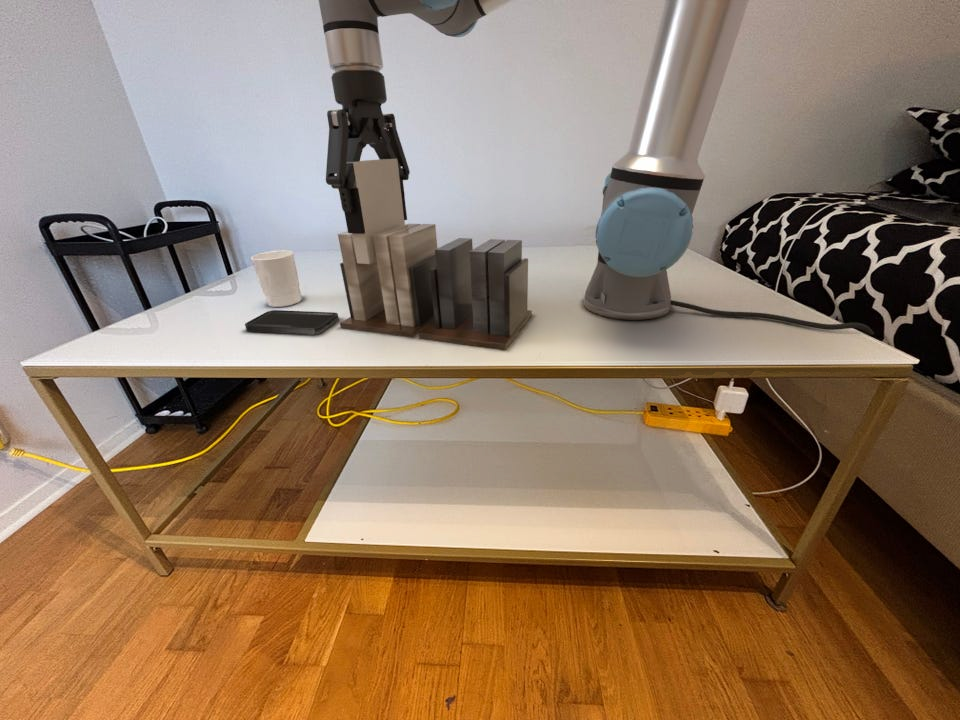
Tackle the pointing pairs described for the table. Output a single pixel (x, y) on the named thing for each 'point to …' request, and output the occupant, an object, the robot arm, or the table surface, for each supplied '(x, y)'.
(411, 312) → the beige book set
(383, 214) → the white book
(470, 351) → the table surface
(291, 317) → the phone
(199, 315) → the table surface
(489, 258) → the grey stand
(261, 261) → the white cup
